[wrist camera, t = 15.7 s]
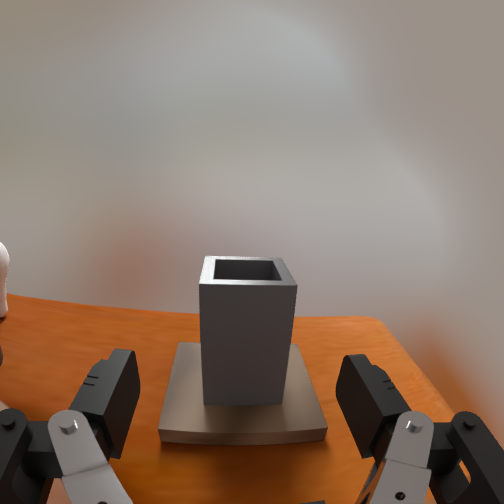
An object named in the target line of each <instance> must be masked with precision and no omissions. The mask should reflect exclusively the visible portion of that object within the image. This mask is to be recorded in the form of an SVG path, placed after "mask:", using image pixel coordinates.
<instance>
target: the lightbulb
mask: <svg viewBox="0 0 504 504" xmlns="http://www.w3.org/2000/svg"><path fill="white" fill-rule="evenodd" d="M9 261H10V260H9V255H8V252H7V250H6V248H5V247H4V245H3V244H2V243H1V242H0V317H4V316H5V314H6V313H7V312H8V307H7V301H6V296H7V295H6V278H7V274H8V269H9Z"/></svg>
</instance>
